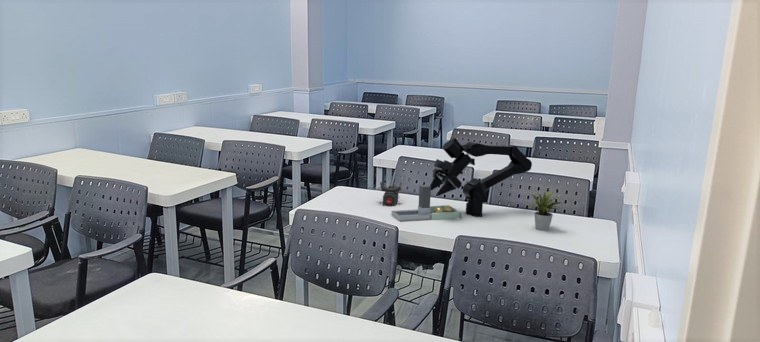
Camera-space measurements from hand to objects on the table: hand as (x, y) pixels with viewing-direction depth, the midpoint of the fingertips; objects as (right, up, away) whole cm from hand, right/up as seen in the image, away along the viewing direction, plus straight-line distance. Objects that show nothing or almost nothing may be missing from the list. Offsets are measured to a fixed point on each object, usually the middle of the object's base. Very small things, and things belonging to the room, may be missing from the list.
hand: (433, 192), depth 226 cm
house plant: (+41, -14, -11) cm, 45 cm away
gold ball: (+8, -8, +4) cm, 13 cm away
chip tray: (+4, -10, +3) cm, 11 cm away
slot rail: (-3, -10, +1) cm, 11 cm away
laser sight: (-17, -6, +27) cm, 32 cm away
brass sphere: (+4, -8, +1) cm, 9 cm away
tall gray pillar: (-4, -10, 0) cm, 11 cm away
